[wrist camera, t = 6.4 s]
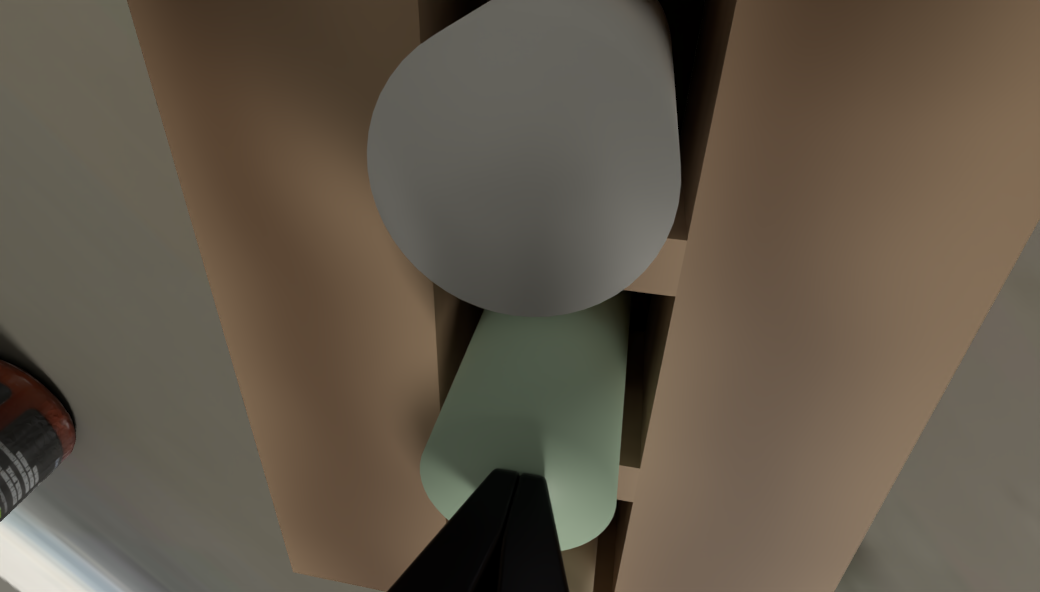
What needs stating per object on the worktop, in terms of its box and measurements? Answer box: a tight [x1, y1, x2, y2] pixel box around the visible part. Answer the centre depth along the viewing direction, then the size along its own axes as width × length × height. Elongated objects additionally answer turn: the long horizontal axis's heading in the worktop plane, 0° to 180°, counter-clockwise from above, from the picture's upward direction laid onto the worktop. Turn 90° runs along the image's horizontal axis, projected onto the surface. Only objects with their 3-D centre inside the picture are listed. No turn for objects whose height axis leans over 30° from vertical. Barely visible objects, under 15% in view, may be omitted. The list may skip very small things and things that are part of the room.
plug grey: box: [367, 0, 681, 317], centre depth 9 cm, size 3×3×6 cm
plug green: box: [420, 290, 632, 551], centre depth 12 cm, size 3×3×6 cm
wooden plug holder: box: [127, 0, 1040, 592], centre depth 14 cm, size 14×18×5 cm
